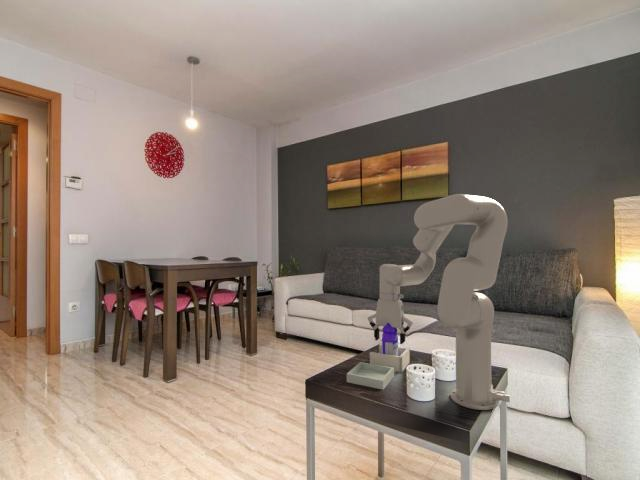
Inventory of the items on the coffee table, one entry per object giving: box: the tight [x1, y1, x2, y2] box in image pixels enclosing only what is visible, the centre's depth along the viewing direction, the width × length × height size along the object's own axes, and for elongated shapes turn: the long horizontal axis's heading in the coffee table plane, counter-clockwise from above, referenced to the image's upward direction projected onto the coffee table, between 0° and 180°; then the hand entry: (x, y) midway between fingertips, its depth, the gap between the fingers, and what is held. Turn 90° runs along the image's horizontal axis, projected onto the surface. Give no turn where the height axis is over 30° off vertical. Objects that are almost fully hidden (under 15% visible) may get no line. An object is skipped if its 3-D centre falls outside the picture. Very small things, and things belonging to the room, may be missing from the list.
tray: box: [346, 361, 395, 390], centre depth 115 cm, size 13×13×3 cm
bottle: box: [381, 322, 399, 356], centre depth 128 cm, size 7×6×17 cm
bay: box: [369, 343, 411, 374], centre depth 128 cm, size 12×12×6 cm
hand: (389, 341), depth 129 cm, fingers open, 9 cm apart
